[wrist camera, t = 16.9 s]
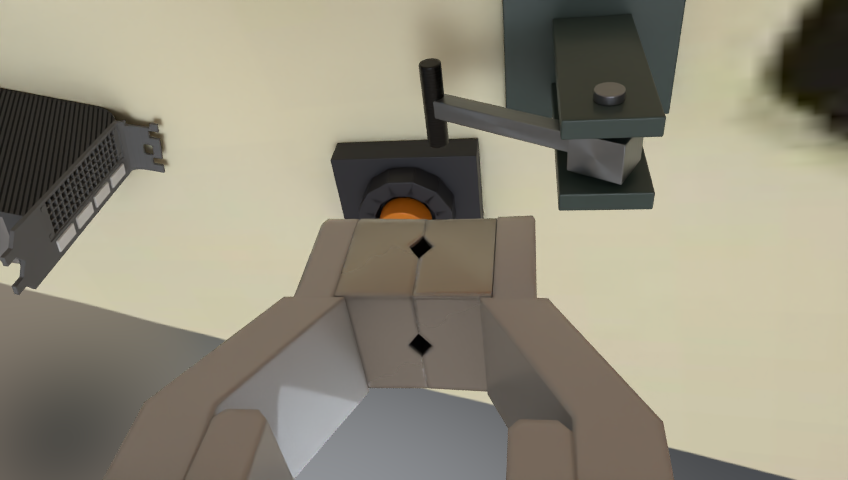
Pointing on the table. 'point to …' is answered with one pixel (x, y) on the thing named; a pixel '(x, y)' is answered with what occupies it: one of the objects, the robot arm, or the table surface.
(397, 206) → the button
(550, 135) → the switch lever
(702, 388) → the table surface
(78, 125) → the graphics card
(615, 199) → the bracket
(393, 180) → the control block
